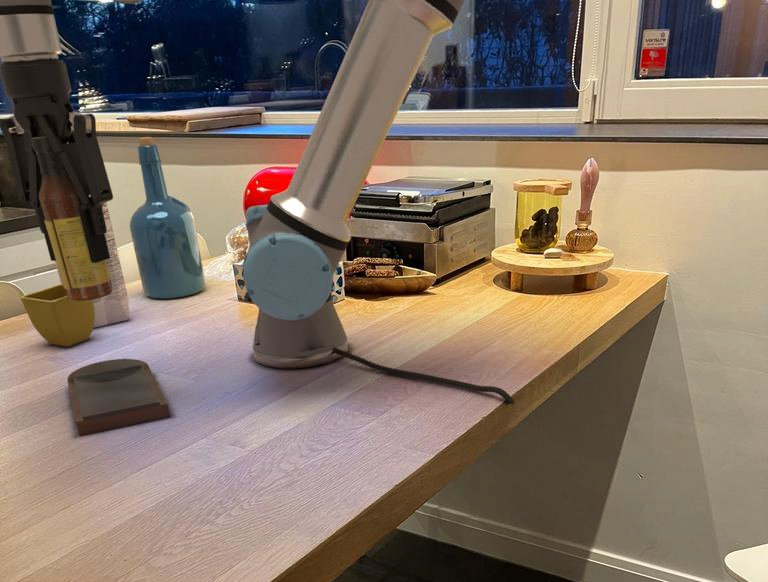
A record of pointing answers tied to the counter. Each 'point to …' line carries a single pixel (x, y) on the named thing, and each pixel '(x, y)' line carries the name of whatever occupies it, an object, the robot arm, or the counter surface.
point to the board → (115, 395)
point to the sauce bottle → (68, 229)
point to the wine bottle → (164, 235)
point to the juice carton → (115, 303)
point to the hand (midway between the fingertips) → (80, 259)
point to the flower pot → (60, 316)
